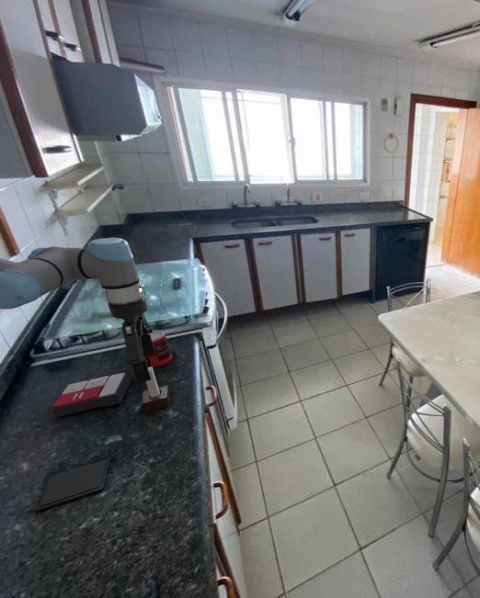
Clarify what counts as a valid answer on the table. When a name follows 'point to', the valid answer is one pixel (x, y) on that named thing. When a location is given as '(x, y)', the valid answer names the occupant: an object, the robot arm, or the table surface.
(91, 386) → the red grey flat block
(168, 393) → the pen stand
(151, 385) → the white square rod
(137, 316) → the robot arm
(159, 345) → the canned food
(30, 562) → the table surface
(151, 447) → the table surface
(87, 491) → the plate
